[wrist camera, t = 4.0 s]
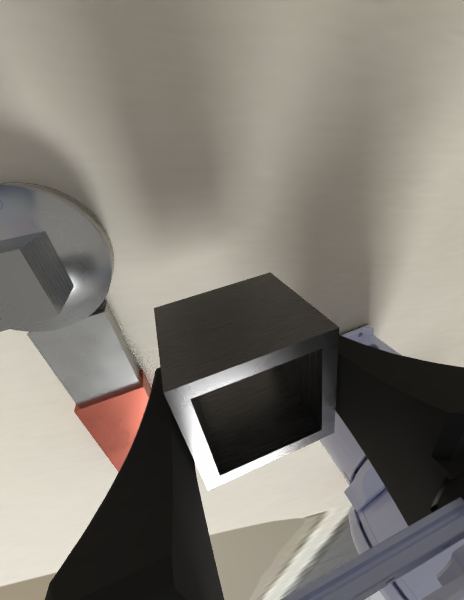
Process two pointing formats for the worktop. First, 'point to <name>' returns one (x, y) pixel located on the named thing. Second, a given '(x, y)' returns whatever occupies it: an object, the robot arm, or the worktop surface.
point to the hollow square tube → (247, 374)
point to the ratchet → (70, 309)
